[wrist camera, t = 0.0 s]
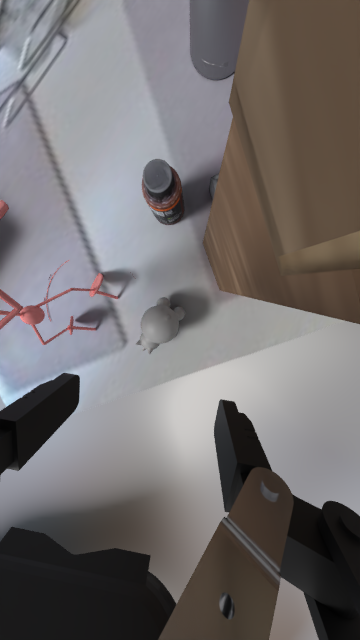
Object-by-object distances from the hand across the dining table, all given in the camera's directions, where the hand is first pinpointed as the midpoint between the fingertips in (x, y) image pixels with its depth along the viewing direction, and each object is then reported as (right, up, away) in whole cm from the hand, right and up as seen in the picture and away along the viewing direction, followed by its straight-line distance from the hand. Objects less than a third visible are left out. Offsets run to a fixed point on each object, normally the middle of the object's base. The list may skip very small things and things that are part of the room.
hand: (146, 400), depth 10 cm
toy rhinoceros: (-2, +4, +30) cm, 30 cm away
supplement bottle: (0, +26, +25) cm, 36 cm away
